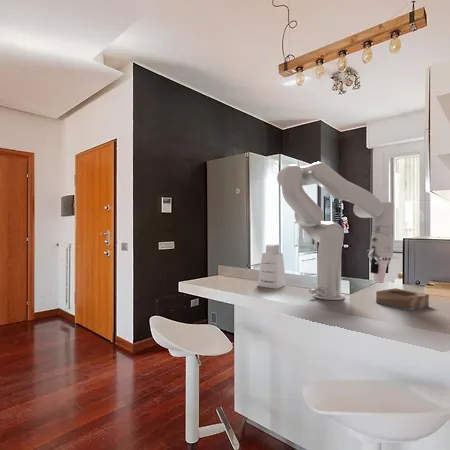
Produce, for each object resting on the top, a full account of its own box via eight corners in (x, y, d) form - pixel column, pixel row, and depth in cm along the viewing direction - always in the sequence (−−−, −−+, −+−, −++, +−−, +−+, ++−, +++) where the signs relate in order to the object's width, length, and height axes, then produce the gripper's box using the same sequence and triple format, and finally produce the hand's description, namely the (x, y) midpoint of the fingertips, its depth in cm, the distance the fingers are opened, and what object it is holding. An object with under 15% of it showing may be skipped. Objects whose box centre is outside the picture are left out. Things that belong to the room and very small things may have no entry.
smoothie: (367, 280, 141) (369, 248, 141) (381, 281, 142) (383, 249, 142) (375, 283, 135) (377, 249, 135) (390, 284, 136) (392, 250, 135)
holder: (409, 310, 117) (409, 298, 117) (376, 302, 128) (376, 291, 128) (428, 306, 124) (428, 294, 124) (395, 299, 135) (395, 288, 135)
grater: (257, 285, 158) (258, 244, 158) (267, 282, 167) (267, 243, 166) (277, 288, 152) (278, 245, 152) (286, 285, 161) (286, 244, 161)
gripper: (377, 230, 131) (374, 275, 131) (402, 232, 139) (399, 273, 140) (361, 229, 137) (358, 272, 137) (386, 231, 146) (383, 271, 146)
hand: (379, 272), depth 139 cm, fingers closed on smoothie, 6 cm apart
